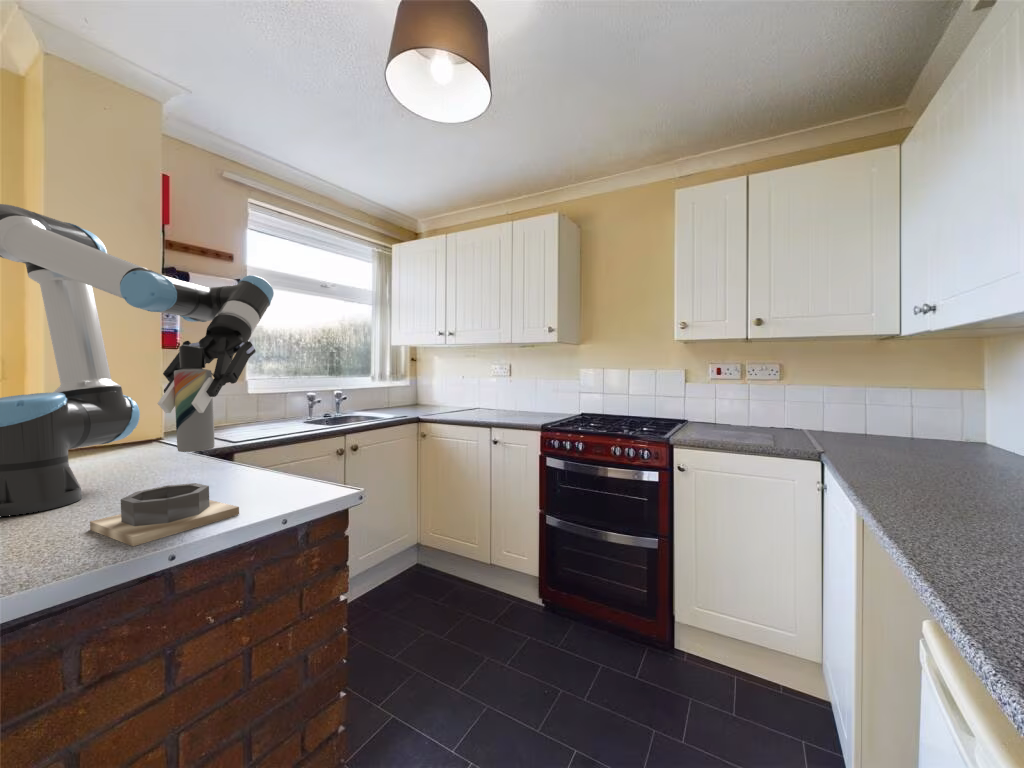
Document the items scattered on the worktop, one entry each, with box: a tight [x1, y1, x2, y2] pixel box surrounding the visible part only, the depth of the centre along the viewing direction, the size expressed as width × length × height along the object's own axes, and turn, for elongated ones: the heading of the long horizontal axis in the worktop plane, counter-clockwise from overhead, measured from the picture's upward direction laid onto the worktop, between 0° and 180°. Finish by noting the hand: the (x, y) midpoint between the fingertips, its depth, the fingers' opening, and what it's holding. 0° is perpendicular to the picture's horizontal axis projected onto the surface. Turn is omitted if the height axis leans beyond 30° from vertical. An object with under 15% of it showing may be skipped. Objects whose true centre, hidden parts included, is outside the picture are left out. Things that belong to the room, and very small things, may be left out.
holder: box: [89, 482, 240, 547], centre depth 75 cm, size 16×16×6 cm
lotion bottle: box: [174, 344, 216, 453], centre depth 78 cm, size 6×6×20 cm
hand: (180, 408), depth 74 cm, fingers closed on lotion bottle, 5 cm apart
